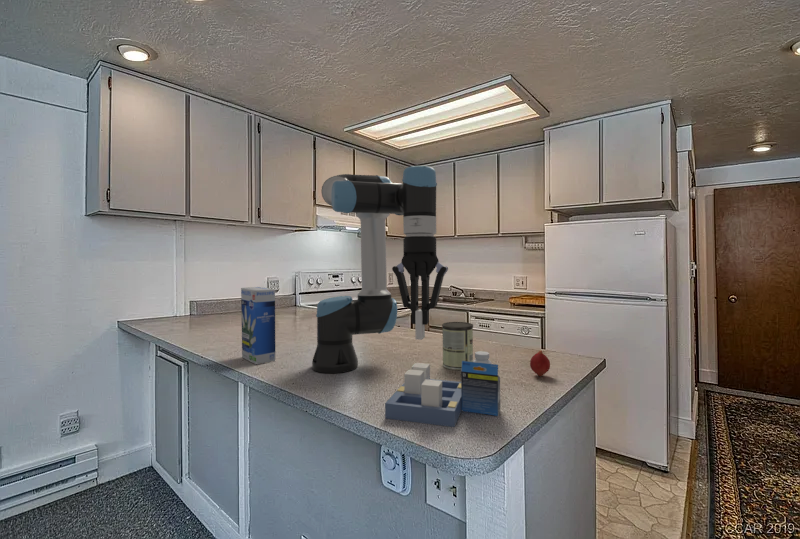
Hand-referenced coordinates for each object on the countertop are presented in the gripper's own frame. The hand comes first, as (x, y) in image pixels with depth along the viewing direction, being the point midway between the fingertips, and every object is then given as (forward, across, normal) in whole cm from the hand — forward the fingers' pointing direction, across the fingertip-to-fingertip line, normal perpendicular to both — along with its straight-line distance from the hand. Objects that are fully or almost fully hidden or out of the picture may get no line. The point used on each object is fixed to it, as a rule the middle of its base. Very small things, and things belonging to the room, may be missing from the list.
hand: (420, 338), depth 91 cm
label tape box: (+19, +13, +7) cm, 24 cm away
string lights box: (+19, -68, +31) cm, 78 cm away
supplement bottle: (+19, +12, +24) cm, 33 cm away
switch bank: (+18, +1, +6) cm, 19 cm away
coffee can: (+19, +2, +43) cm, 47 cm away
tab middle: (+16, -3, +6) cm, 18 cm away
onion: (+19, +28, +39) cm, 51 cm away
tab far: (+16, -3, +13) cm, 21 cm away
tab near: (+16, +3, 0) cm, 16 cm away
